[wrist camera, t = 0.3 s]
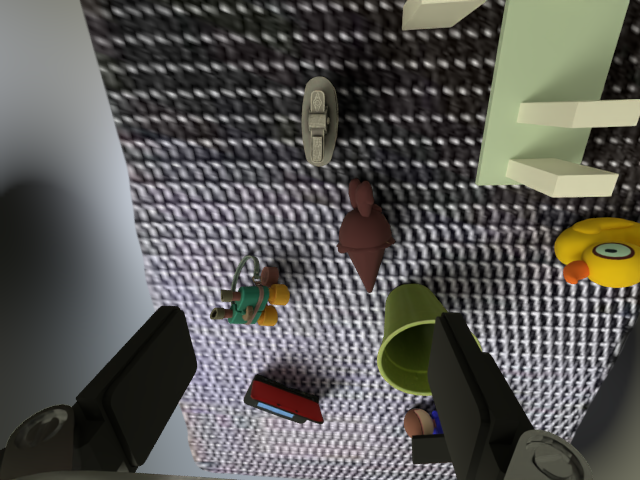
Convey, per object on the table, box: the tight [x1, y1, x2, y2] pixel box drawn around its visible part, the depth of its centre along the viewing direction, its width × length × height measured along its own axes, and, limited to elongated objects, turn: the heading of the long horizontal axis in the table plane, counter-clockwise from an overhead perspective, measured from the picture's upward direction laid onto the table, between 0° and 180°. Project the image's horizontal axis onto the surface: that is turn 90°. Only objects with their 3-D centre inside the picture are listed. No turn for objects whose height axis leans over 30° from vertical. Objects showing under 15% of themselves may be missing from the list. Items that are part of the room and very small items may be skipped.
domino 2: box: [517, 99, 640, 128], centre depth 29 cm, size 2×5×9 cm, turn 92°
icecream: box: [336, 178, 396, 293], centre depth 38 cm, size 7×8×15 cm
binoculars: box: [210, 256, 290, 326], centre depth 41 cm, size 9×9×10 cm
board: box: [475, 0, 630, 185], centre depth 31 cm, size 28×11×1 cm, turn 2°
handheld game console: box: [244, 375, 324, 424], centre depth 52 cm, size 12×11×7 cm
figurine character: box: [404, 408, 452, 464], centre depth 51 cm, size 7×8×15 cm
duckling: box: [554, 217, 640, 288], centre depth 35 cm, size 11×5×10 cm, turn 110°
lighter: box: [302, 77, 338, 166], centre depth 31 cm, size 8×3×10 cm, turn 179°
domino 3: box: [506, 158, 619, 197], centre depth 31 cm, size 2×5×9 cm, turn 93°
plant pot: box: [377, 284, 482, 396], centre depth 40 cm, size 12×12×11 cm
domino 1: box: [402, 0, 487, 30], centre depth 27 cm, size 2×5×9 cm, turn 92°
